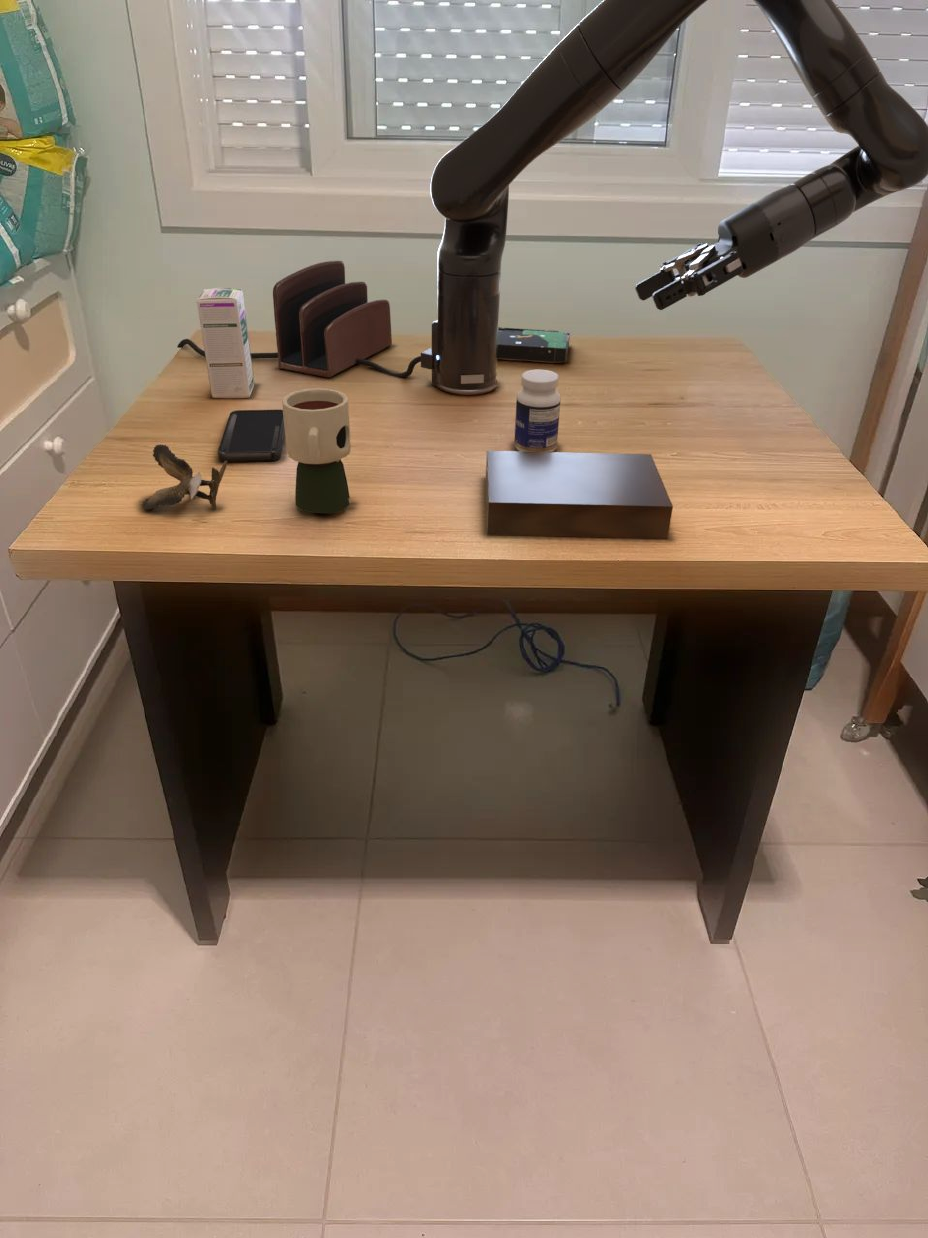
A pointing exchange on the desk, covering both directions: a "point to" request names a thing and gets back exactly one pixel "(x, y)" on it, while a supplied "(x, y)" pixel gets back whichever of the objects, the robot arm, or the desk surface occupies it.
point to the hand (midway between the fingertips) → (646, 298)
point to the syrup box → (226, 342)
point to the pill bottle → (537, 412)
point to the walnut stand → (575, 495)
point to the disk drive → (532, 345)
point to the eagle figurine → (182, 481)
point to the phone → (253, 436)
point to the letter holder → (327, 321)
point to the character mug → (318, 447)
